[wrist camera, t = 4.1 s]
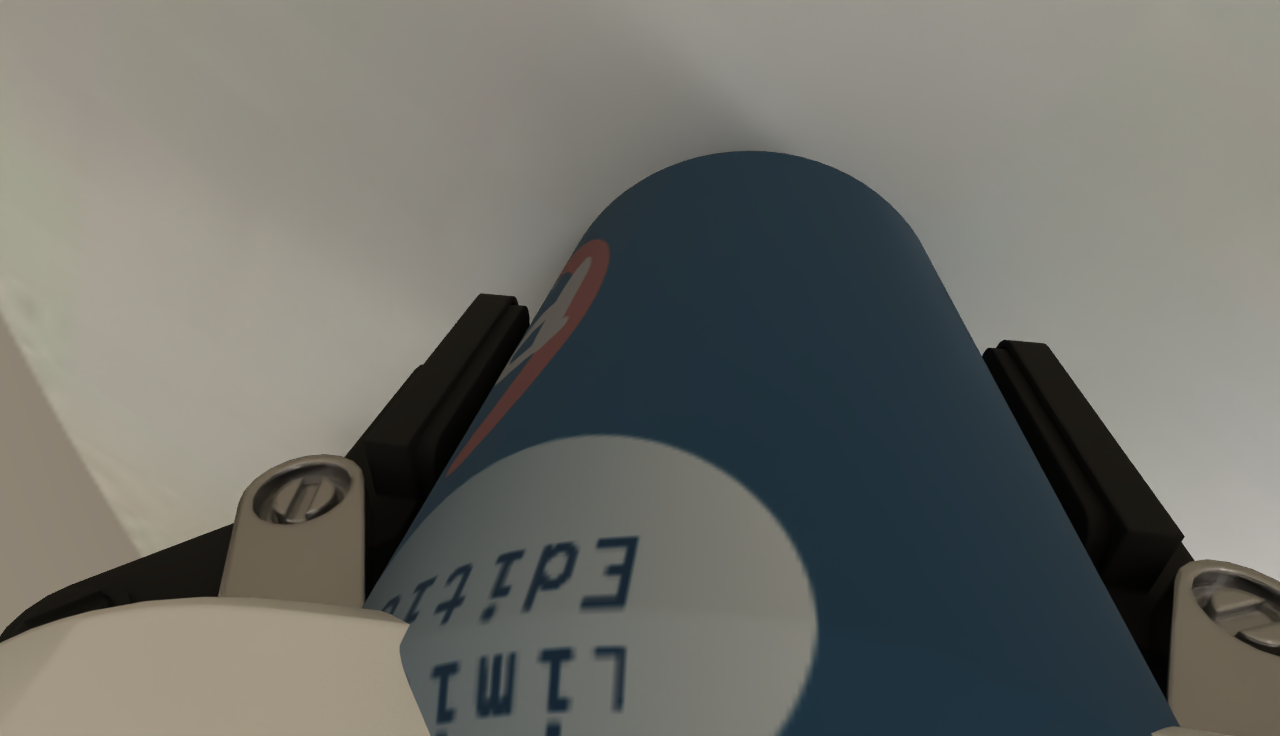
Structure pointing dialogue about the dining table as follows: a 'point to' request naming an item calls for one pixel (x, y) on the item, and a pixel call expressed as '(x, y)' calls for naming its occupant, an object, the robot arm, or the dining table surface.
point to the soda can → (754, 498)
